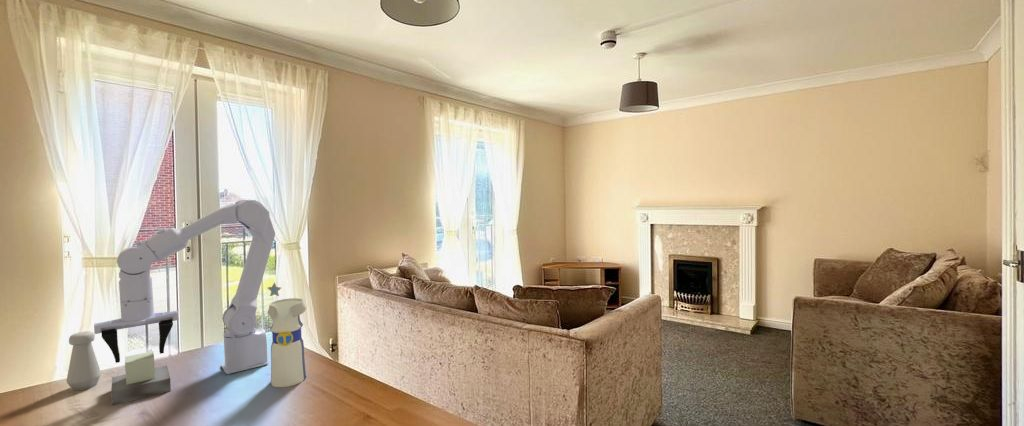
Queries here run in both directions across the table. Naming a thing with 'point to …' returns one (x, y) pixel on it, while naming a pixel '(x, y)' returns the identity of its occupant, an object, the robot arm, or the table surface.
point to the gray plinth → (140, 386)
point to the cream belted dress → (286, 340)
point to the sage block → (139, 367)
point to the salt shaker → (83, 362)
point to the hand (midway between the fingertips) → (140, 356)
